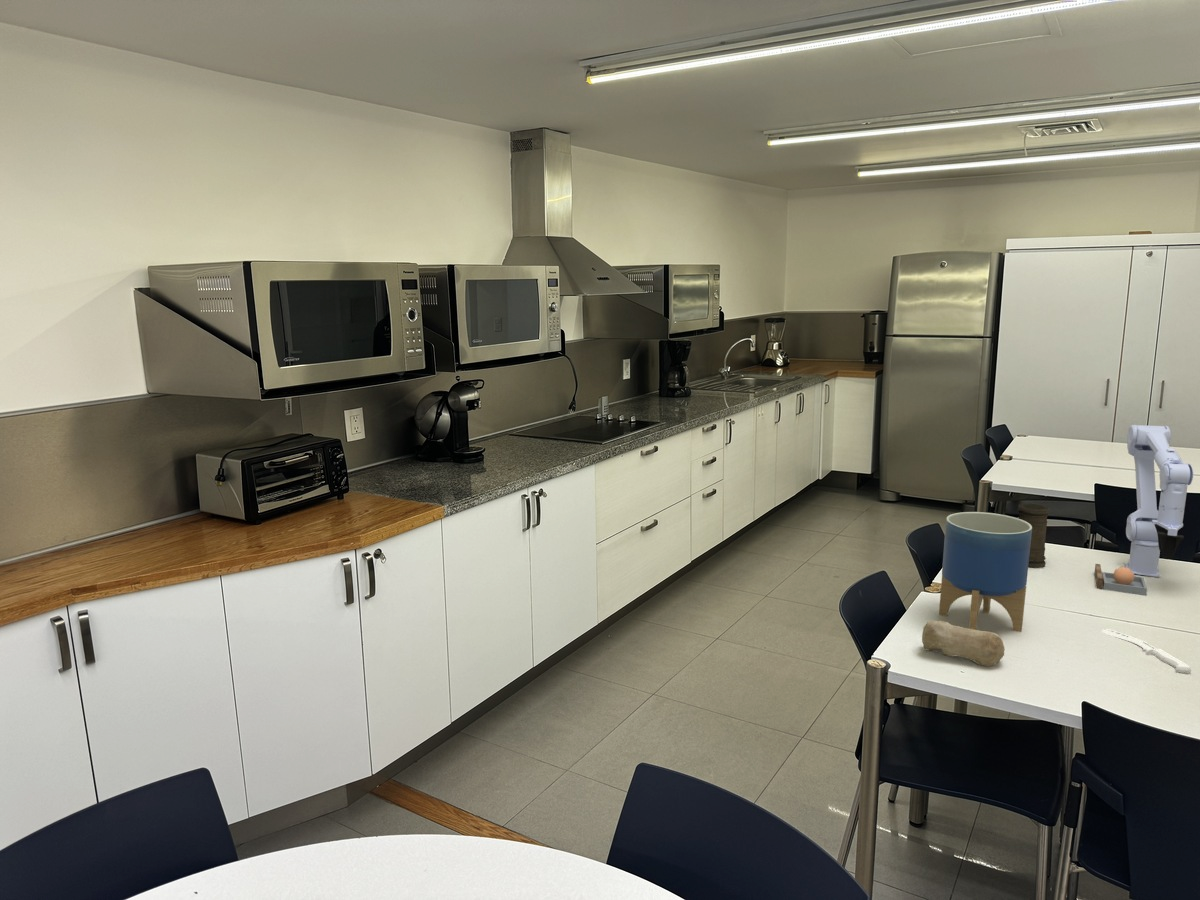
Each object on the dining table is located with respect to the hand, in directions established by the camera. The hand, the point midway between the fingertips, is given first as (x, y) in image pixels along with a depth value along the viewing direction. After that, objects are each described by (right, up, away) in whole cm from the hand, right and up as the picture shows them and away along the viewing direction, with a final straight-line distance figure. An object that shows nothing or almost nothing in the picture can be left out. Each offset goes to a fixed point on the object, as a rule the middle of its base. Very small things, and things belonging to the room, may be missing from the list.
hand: (1165, 554), depth 226 cm
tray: (-9, -10, +5) cm, 14 cm away
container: (-25, -6, +24) cm, 36 cm away
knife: (-31, -18, -33) cm, 48 cm away
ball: (-9, -9, +4) cm, 14 cm away
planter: (-61, -15, -19) cm, 65 cm away
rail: (-13, -9, +9) cm, 18 cm away
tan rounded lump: (-74, -19, -39) cm, 85 cm away
